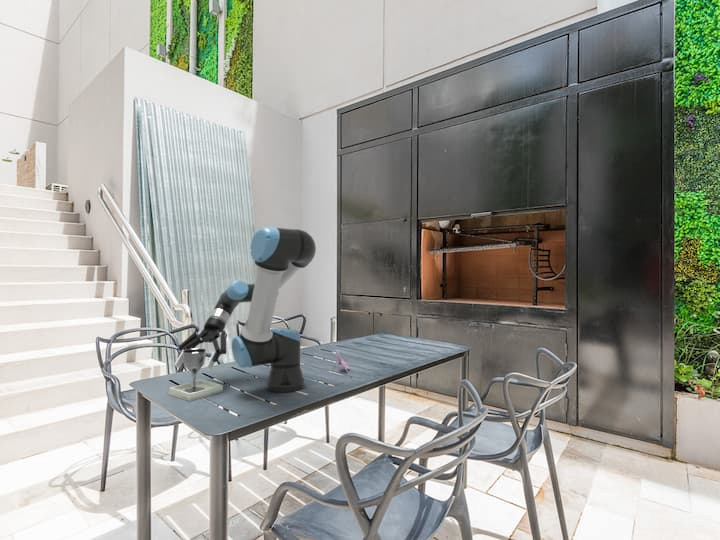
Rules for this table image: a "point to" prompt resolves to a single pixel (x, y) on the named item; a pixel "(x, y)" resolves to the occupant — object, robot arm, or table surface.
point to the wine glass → (194, 365)
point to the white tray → (208, 390)
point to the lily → (341, 361)
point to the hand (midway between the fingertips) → (192, 367)
